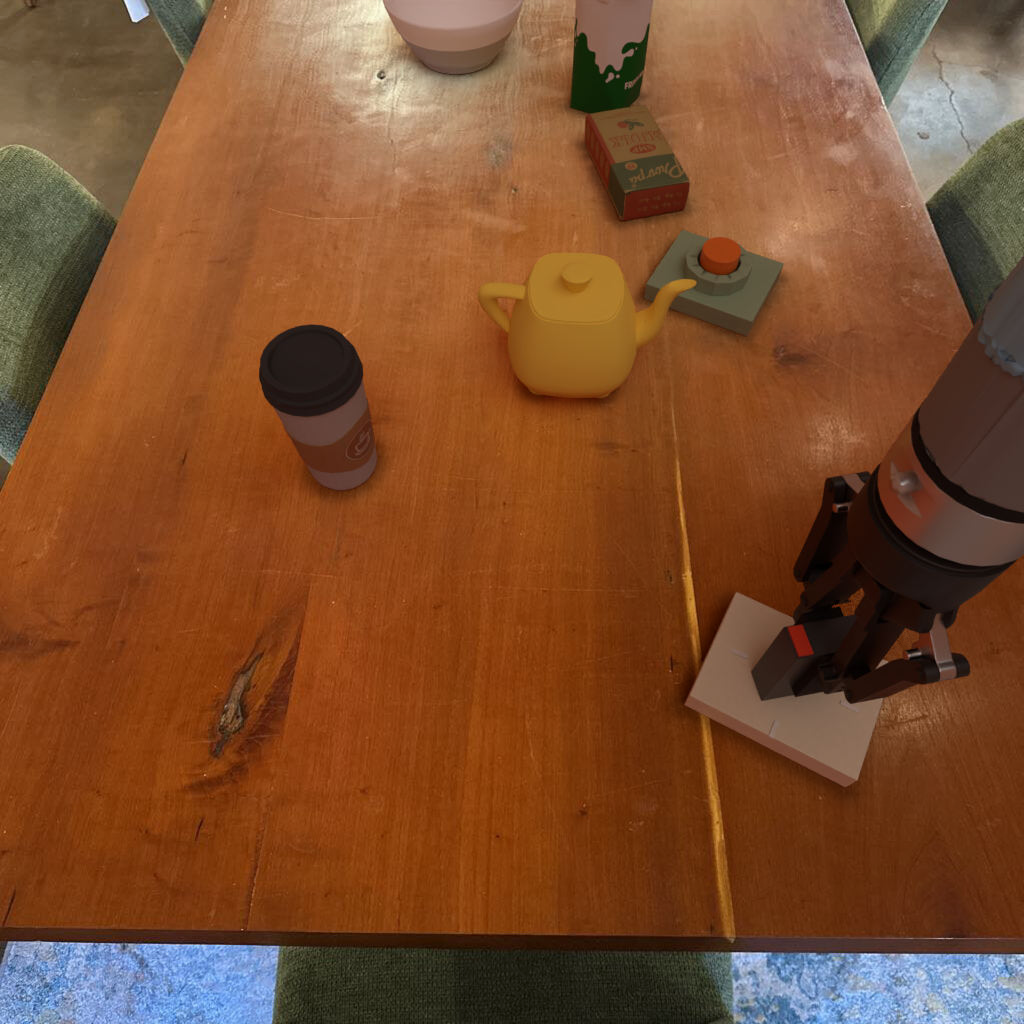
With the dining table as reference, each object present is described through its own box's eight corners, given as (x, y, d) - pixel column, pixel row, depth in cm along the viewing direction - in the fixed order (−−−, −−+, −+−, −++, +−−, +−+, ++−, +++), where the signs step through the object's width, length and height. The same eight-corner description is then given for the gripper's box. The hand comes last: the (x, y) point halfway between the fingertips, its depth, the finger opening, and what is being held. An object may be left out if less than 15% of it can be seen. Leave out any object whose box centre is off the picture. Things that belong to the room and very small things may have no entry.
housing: (778, 278, 85) (788, 249, 82) (747, 336, 81) (756, 308, 77) (678, 244, 89) (684, 215, 85) (643, 299, 84) (648, 270, 81)
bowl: (383, 92, 106) (373, 29, 99) (399, 19, 116) (391, -43, 109) (523, 92, 105) (523, 29, 98) (527, 19, 115) (527, -44, 108)
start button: (742, 257, 82) (746, 244, 80) (729, 280, 80) (733, 267, 79) (707, 245, 83) (711, 232, 81) (693, 267, 81) (696, 254, 80)
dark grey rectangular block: (824, 658, 60) (869, 610, 52) (836, 687, 59) (883, 643, 51) (750, 671, 59) (784, 625, 51) (761, 701, 58) (797, 658, 50)
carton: (643, 134, 100) (648, 102, 96) (686, 211, 92) (693, 180, 88) (582, 144, 99) (584, 112, 95) (620, 223, 91) (624, 191, 87)
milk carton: (590, 77, 107) (601, -94, 90) (649, 94, 104) (672, -78, 87) (560, 109, 103) (566, -63, 86) (621, 128, 100) (640, -46, 83)
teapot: (676, 421, 75) (701, 330, 65) (475, 410, 76) (467, 319, 66) (673, 322, 82) (694, 226, 72) (489, 313, 83) (483, 217, 73)
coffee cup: (355, 515, 70) (316, 413, 58) (283, 479, 73) (230, 374, 60) (404, 450, 74) (378, 341, 61) (335, 418, 76) (295, 306, 63)
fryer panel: (882, 673, 62) (895, 662, 59) (845, 789, 57) (858, 781, 55) (729, 603, 65) (737, 589, 63) (683, 706, 61) (689, 695, 58)
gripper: (816, 392, 40) (721, 585, 61) (956, 669, 32) (793, 784, 53) (949, 371, 41) (811, 569, 61) (1118, 637, 33) (895, 764, 53)
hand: (802, 668), depth 57 cm, fingers closed on dark grey rectangular block, 2 cm apart
